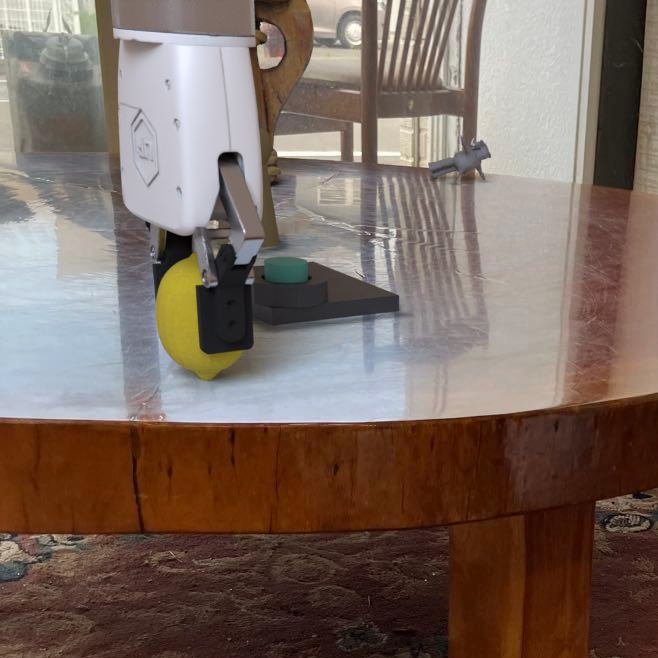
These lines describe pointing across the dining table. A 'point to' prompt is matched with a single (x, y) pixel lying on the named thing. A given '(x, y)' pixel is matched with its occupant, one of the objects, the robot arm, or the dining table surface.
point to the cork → (265, 197)
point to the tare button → (286, 269)
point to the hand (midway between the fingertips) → (204, 335)
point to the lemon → (186, 321)
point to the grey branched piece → (462, 160)
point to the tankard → (280, 81)
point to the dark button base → (317, 297)
